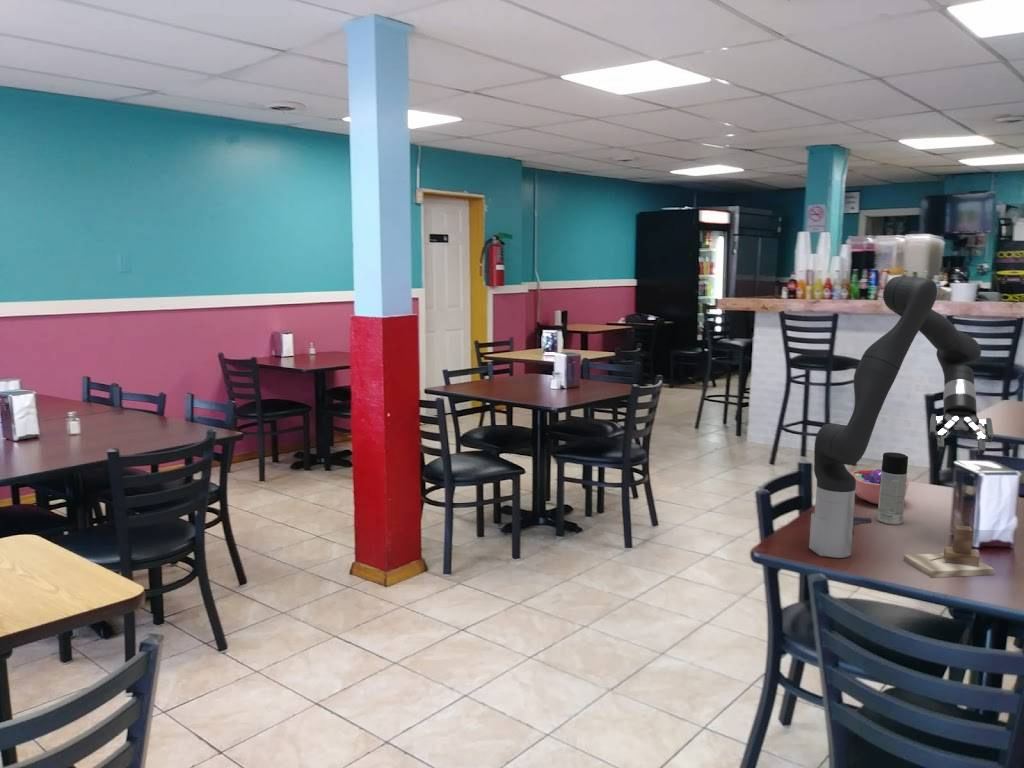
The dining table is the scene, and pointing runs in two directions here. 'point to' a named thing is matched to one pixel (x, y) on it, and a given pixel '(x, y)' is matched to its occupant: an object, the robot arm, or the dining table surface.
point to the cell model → (870, 484)
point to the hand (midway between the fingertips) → (961, 451)
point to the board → (945, 566)
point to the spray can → (892, 488)
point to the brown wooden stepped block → (962, 548)
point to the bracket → (860, 521)
